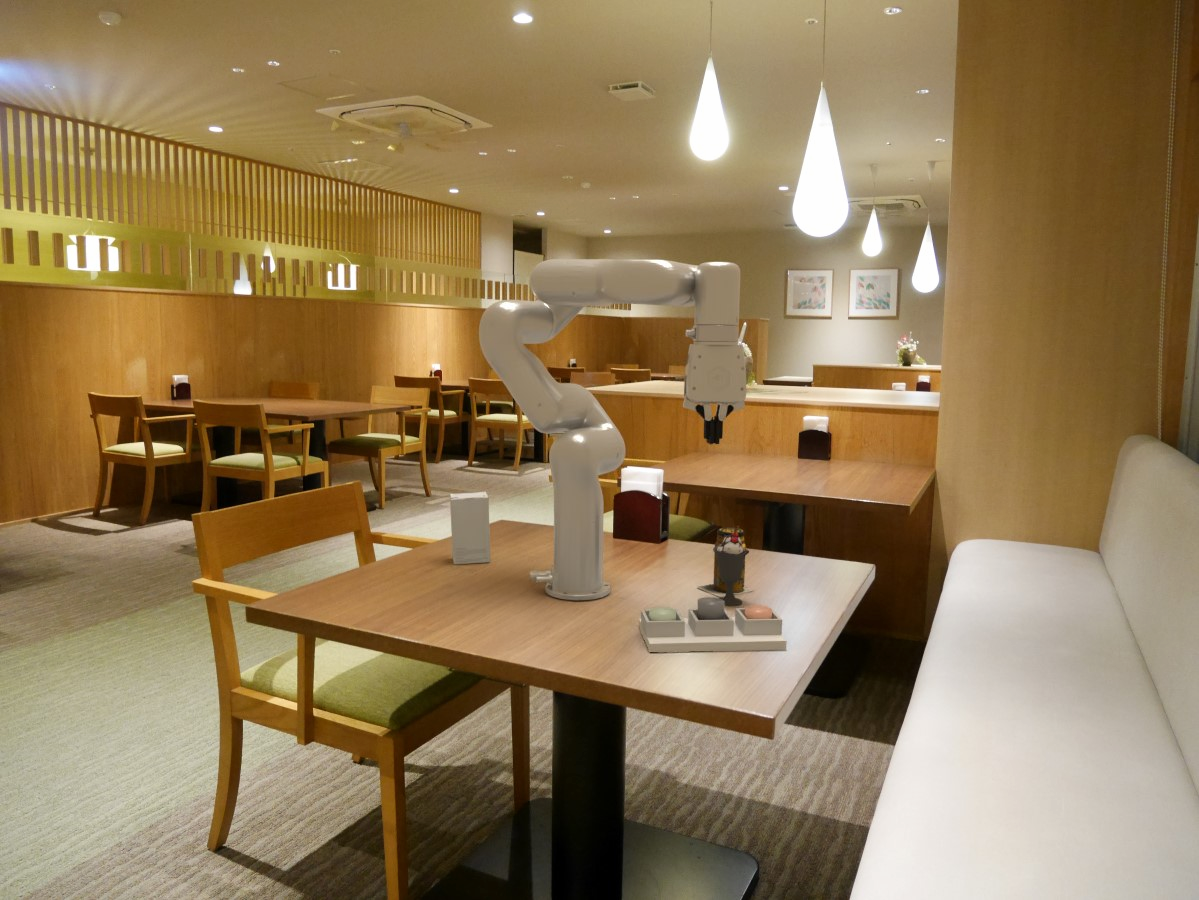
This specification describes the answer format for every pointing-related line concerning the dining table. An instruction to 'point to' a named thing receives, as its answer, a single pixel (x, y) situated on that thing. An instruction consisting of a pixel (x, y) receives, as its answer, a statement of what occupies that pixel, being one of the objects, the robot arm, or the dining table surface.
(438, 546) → the dining table surface
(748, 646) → the panel
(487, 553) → the skincare box
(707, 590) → the condiment
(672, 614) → the sage button
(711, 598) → the charcoal button
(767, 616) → the terracotta button
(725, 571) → the sundae
